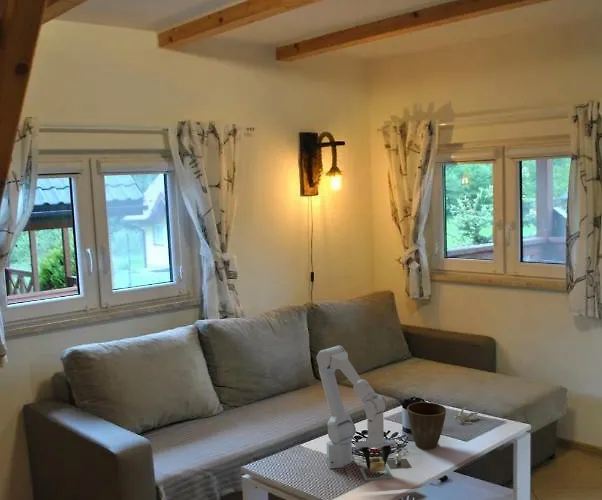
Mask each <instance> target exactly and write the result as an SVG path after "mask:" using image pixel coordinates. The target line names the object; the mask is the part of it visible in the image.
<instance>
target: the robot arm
mask: <svg viewBox="0 0 602 500" xmlns="http://www.w3.org/2000/svg"><path fill="white" fill-rule="evenodd" d="M315 359H316V361H317V365H318V372H319V376H320V380H321V384H322V388H323V393H324V395H325V396H324V397H325V398H326V402H327V408H328V411H329V414H330V418H329V420H328V422H327V424H326V426H327V435H328V436H327V437H328V438H329V441H326V462H327V465H328V468H329V469H340V468H345V467H346V466H348V465H350V464H351V463H353V453H352V452H353V445H352V443H353V440H354V436H355V435H356V433H357V428H356V425H355V423H354V422H353V420H352V416H350V415H349V414H347V413H346V412H345V411H346V410H345V408H344V404H343V401H342V397H341V393H340V389H339V386H338V381H337V378H336V373H335V372H336V370H340V371H341V372H342V374H343V375H344V376H345V378H347V380H349V382H350V383H352V385H353V387H352V388H353V389H352V390H353V392H354V393H355V394H356V395H357V396H358V398H359V400H360V401H361V402H362V403H363V410H364V412H365V415H366V416H365V417H366V420H367V421H366V422H367V423H366V424H367V425H366V426H367V427H366V428H367V440H363V441H362V440H361V441H357V442H354V444H355V445H354V448H355V450H360V449H361V451H362V454H363V456H364V459H365V463H366V467H367V468H370V458H371V456H370V455H371V452H370V449H372V448H374V449H380V448H381V457H382V459H383V461H384V464H385V466H387V462H386V461H387V460H388V458H389V456H390V454H391V452H392V448H391V447H393V448H396V447H397V441H396V439H385V437H384V433H385V431H384V430H385V427H384V425H385V424H384V412H385V411H386V409H387V405H388V403H387V400H386V399H385V397H384V396H383V395H381V394H379V393H377V392H375V390H374V389H373V387H372V386H371V385H370V383H369V382H368V380H366V379H362V378H361V377H360V375H359V374H358V372H357V370H356V369H355V367H354V366H353V364H352V363H351V361H350V360H349V354H348V352H347V351H346V350H345V348H344V347H343V346H342V345H339V344H337V345H336V346H332V347H329V348H326V349H321V350H320V351H318V353H317V355H316V357H315Z"/></svg>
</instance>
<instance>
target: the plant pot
mask: <svg viewBox="0 0 602 500" xmlns="http://www.w3.org/2000/svg"><path fill="white" fill-rule="evenodd" d="M406 409H407V416H408V422H409V426H410V431H411V432H410V433H411V435H412V438H413V441H414V445H415V447H417V448H418V449H421V450H433V449H435V448H437V445H438V443H439V441H440V439H441V435H442V431H443V429H444V423H445V420H446V414H447V413H446V412H447V408H446V407H445V406H444V405H442V404H439V403H435V402H428V401H427V402H426V401H421V402H413V403H410V404H408V406H407V408H406Z"/></svg>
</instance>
